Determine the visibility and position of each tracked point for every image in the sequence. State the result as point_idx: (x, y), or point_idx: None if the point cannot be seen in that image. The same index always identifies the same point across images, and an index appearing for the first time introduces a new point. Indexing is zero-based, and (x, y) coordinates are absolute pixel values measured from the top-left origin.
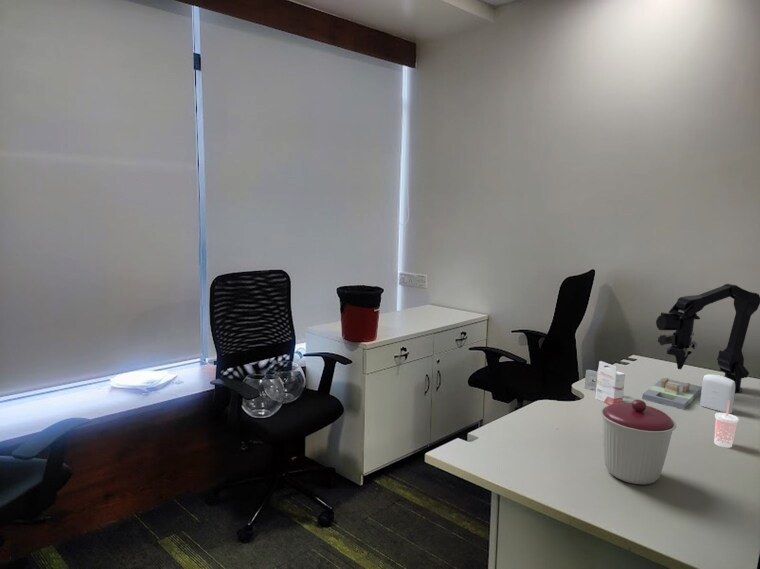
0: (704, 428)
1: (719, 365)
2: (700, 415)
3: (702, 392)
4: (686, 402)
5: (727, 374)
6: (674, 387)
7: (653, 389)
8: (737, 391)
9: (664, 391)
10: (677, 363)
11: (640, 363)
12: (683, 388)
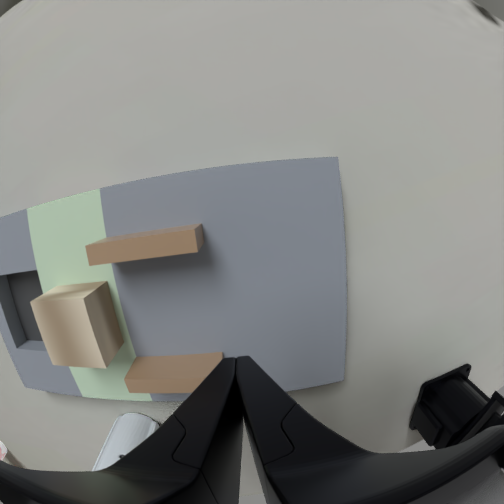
0: (5, 422)
1: (495, 421)
2: (50, 417)
3: (98, 457)
4: (46, 390)
5: (460, 429)
6: (50, 350)
7: (40, 228)
8: (412, 426)
9: (56, 286)
10: (191, 401)
11: (481, 32)
12: (128, 373)
